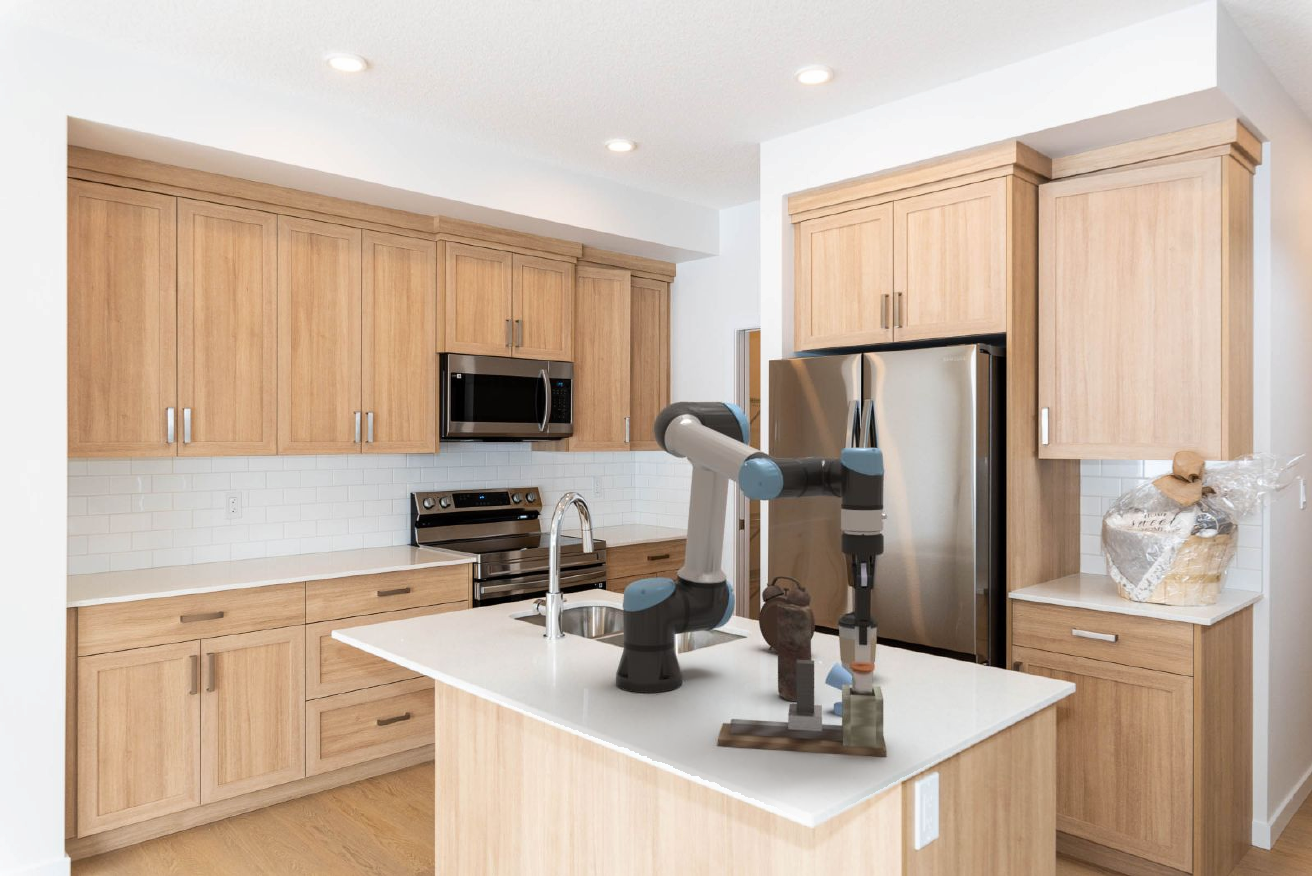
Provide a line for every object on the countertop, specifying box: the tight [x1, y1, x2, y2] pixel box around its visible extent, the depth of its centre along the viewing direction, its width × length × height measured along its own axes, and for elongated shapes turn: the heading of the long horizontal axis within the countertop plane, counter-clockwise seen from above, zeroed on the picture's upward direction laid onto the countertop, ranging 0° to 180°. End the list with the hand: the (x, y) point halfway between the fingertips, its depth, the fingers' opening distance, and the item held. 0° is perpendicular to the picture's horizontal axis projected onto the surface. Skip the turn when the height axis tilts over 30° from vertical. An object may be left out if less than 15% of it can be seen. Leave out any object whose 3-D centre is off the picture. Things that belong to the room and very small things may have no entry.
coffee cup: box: [837, 610, 878, 681], centre depth 204 cm, size 9×9×15 cm
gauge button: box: [850, 661, 876, 696], centre depth 160 cm, size 4×4×8 cm
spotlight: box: [824, 662, 852, 717], centre depth 179 cm, size 5×10×7 cm
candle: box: [777, 604, 812, 702], centre depth 190 cm, size 8×7×20 cm
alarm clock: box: [758, 575, 816, 652], centre depth 227 cm, size 15×7×20 cm, turn 44°
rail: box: [717, 685, 888, 758], centre depth 162 cm, size 30×9×10 cm, turn 79°
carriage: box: [787, 659, 823, 731], centre depth 162 cm, size 6×7×12 cm
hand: (862, 661), depth 160 cm, fingers closed
